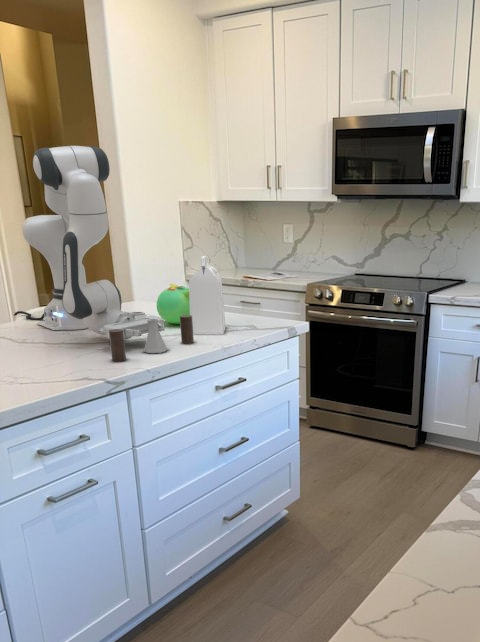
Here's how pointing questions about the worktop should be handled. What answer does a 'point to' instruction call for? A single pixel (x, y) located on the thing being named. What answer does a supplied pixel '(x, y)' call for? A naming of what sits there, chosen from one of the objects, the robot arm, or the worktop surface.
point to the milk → (206, 300)
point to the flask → (154, 338)
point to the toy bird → (173, 303)
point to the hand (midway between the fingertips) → (151, 330)
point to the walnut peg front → (117, 345)
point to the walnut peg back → (186, 329)
